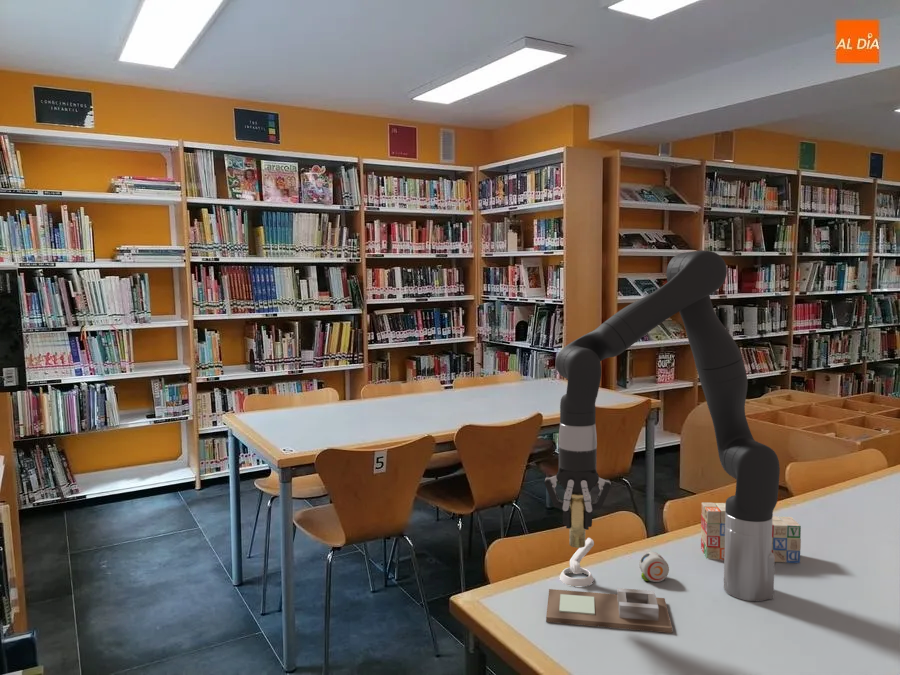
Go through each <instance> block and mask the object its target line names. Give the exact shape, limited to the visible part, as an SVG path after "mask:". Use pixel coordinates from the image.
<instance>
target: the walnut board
mask: <svg viewBox="0 0 900 675" xmlns="http://www.w3.org/2000/svg"><path fill="white" fill-rule="evenodd" d="M560 594H566V595H578V596H591V597H594V608H595V615H590V614H578V613H567V612H559V607H560ZM547 596H548V597H547V606H546V613H545V614H546V616H545V622H547V623H554V624H566V625H567V624H568V625H576V626H577V625H579V626H588V627H598V626H599V628H610V627H611V629H622V630H623V629H624V630H632V631H633V630H634V631H645V632H656V633H657V632H658V633H668V634H673V626H672V622H671V618H670V614H669V610H668V606H667V603H666V602H667V601H666V598H665V597H657V596H656V592H655V590H647V589H635V588H634V589H631V588H623V587H622V588H621V587H620V588H619V587H617V593H616V594H615V593H614V594H613V593H607V592H606V593H603V592H591V591H579V590H568V589H567V590H565V589H553V588H549V589H548V595H547Z"/></svg>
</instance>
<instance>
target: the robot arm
mask: <svg viewBox="0 0 900 675" xmlns="http://www.w3.org/2000/svg"><path fill="white" fill-rule="evenodd" d="M727 269H728V268H727V263H726V262H725V260H724V259H723V257H722V256H721V255H720V254H718V253H716V252H714V251H712V250H705V249H704V250H703V249H702V250H695V251H694V250H693V251H688V252H686V251H685V252H681V253H678V254H676V255H674V256H673V257H672V258H671V259H670V260H669V262H668V264H667V268H666V271H665V272H666V273H665V274H666V281H667V282H666V283H665V284H663V285H662V286H660V287H659V288H657V289H655V290H654V291H652V292H651V293H649V294H647V295H645V296H643V297H642V298H640V299H637V300H635V301H634V302H632V303H629V304H628V305H626V306H625V307H623V308H622V309H619V310H618V311H617V312H616V313H614V314H613V315H612V316H610V317H609V318H608V319H606V320H604V322H603V323H601V324H600V325H599V326H598V327H596V328H595V329H594V330H592V331H590V332H588V333H585V334H583V335H582V336H580V337H579V338H577V339H574V340H572V341H571V342H569V343H568V344H567V345H565V346H564V347H563V348H562V349H561V350H560V351H559V353H558V354H557V355H556V358H555V368H556V370H557V372H558V374H559V375H560V376H561V377H562V378H564V379H567V387H566V393H565V394H564V395H562V397H560V398H561V399H560V404H559V430H558V471H557V473H556V474H555V475H554V476H546V477H545V480H544V486H545V488H546V491H547V493H548V496H549V498H550V500H551V502H552V504H553V506H554V508H556V509H557V508H559V509H560V510H561V511H562V525H563V526H565V528H566V529H570V510H569V509H570V499H571V495H572V494H583V497H584V502H585V506H586V507H585V531H586V530H588V531H589V528H591V527H593V513H594V511H596V510H598V511H599V510H601V509H602V507H603V504H604V503H605V500H606V498H607V496H608V494H609V492H610V490H611V488H612V484H611V483H612V482H611V480H610V479H604V478H601V477H600V476H599V474H598V470H597V453H598V452H597V448H598V447H597V446H598V442H597V441H598V440H597V436H598V435H597V427H596V426H597V425H596V415H597V414H596V410H597V409H596V401H597V398H598V394H599V390H600V384H601V379H602V363H601V361H603V360H605V359H608V358H614V357H617V356H619V355H621V354H622V353H624V352H625V351H626V350H627V349H629V348H630V347H631V346H632V345H634V344H635V343H637V342H638V341H639V340H641V339H642V338H643V337H644V336H645V335H648V333H649V332H651V331H653V329H655V328H656V327H658V326H659V325H660V324H662V323H663V322H665V321H667V320H668V319H670V318H672V317H673V316H674V315H675V314H677V313H679V315H680V317H681V319H682V323H683V326H684V329H685V332H686V336H687V339H688V340H687V341H688V343H689V345H690V346H689V347H690V349H691V352H692V356H693V360H694V364H695V365H694V366H695V368H696V371H697V374H698V378H699V382H700V384H701V388H702V391H703V394H704V398H705V400H706V401H705V402H706V405H707V408H708V411H709V413H710V418H711V421H712V424H713V429H714V435H715V436H714V437H715V440H716V447H717V451H718V452H717V453H718V457H719V462H720V465H721V467H722V468H723V470H724V471H725V473H726V474H728V475H729V476H730V477H732V478H733V479H735V480H736V481H735V482H736V483H735V493H734V494H735V495H730V496H729V497H728V498H727V497H726V498H727V499H726V500H725V503H726V505H725V553H724V560H723V561H724V563H723V564H724V565H723V566H724V567H723V589H724V591H725V592H726V593H727V594H728V595H730V596H732V597H734V598H737V599H739V600H744V601H747V602H762V601H766V600H774V596H775V595H774V594H775V592H774V590H775V562H774V560H775V557H774V554H773V553H772V519H773V518H772V517H773V516H774V514H773V513H774V510H775V508H776V507H777V503H778V497H779V486H780V473H781V472H780V468H781V467H780V461H779V457H778V455H777V453H776V452H775V450H773V448H771V447H770V446H768V445H765V444H764V443H761V442H759V441H757V440H755V439H754V437H753V434H752V432H751V430H750V426H749V424H748V421H747V416H746V412H745V410H746V409H745V406H746V398H747V394H748V393H747V392H748V386H749V385H748V384H749V382H748V375H747V371H746V367H745V363H744V360H743V357H742V356H743V355H742V353H741V350H740V348H739V346H738V344H737V343H736V341H735V339H734V338H733V337H732V335H731V333H730V332H729V331H728V329H727V328H726V327H725V326H724V324H723V323H722V321H721V320H720V319H719V317H718V315H717V314H716V311H715V309H714V306H713V303H712V300H711V296H710V295H711V294H713V293H715V292H717V291H718V290H719V289H720V288H721V287H722V286H723V285H724V283H725V282H726V278H727V274H728V273H727V272H728V270H727ZM557 482H558V483H559V484H560V486H561V487H562V489H563V490H564V496H563V500H562V499H560V497H559V495H558V493H557V491H556V487H557ZM597 484H598V488H599V492H598V495H597V497H596V499H595V501H593V502H592V499H591V492H592V490H593V489H594V487H595V486H596V485H597ZM568 494H569V495H568ZM586 495H587V496H586Z"/></svg>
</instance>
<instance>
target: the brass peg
mask: <svg viewBox="0 0 900 675" xmlns="http://www.w3.org/2000/svg"><path fill="white" fill-rule="evenodd" d="M568 495H569V494H568ZM586 496H587V495H586ZM569 508H570V509H569V510H570V529H569V530H568V531H569V534H568V535H569V546H570V547H571V548H576V549H579V548H582V547H585V540H586V530H585V509H586V506H585V502H584V497H583V494H572V495H571V499H570V504H569Z"/></svg>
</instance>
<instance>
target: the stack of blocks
mask: <svg viewBox="0 0 900 675" xmlns="http://www.w3.org/2000/svg"><path fill="white" fill-rule="evenodd" d="M725 505H726V502H701V514H700V549H702V550H701V551H702V554H705V555H704V556H705V558H706V559H707V558H709V559H708V560H720V559H722V561H724V553H725ZM772 518H773V519H772V553H773V554H774V557H775V560H774V563H788V564H789V563H793V564H800V562H801V547H802V546H801V543H802V538H801V534H802V533H801V531H802V527H801V524H799V522H797V521H796V520H795V519H794V518H793V517H792V516H778V515H773V517H772Z"/></svg>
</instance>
